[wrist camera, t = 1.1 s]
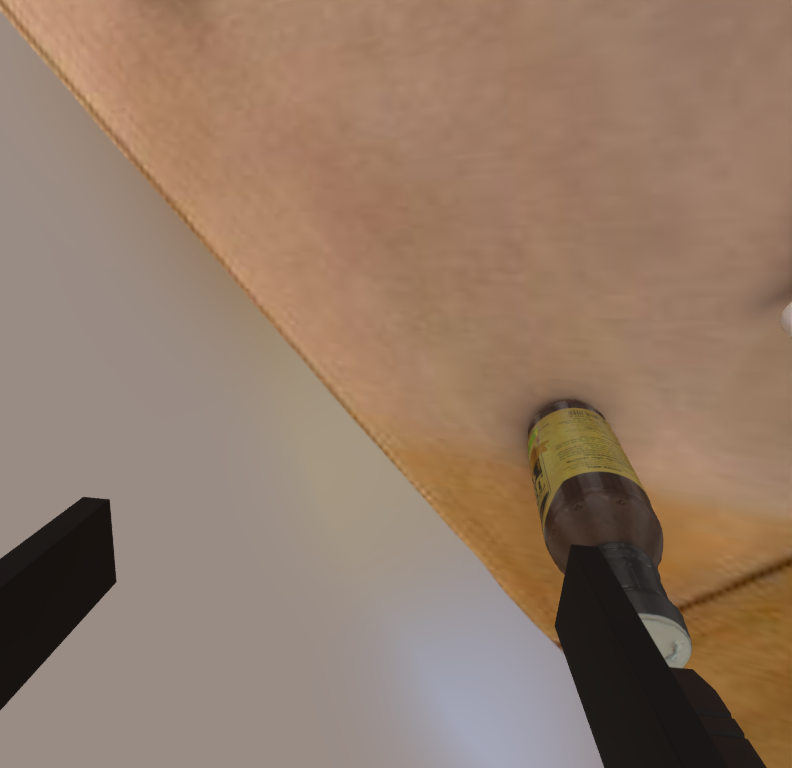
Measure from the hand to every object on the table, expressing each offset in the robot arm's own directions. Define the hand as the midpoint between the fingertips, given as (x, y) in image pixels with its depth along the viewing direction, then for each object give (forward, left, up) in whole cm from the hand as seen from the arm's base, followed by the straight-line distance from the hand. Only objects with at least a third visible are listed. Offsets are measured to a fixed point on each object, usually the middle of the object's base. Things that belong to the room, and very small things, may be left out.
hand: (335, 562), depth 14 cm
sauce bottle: (-9, +10, -26) cm, 29 cm away
